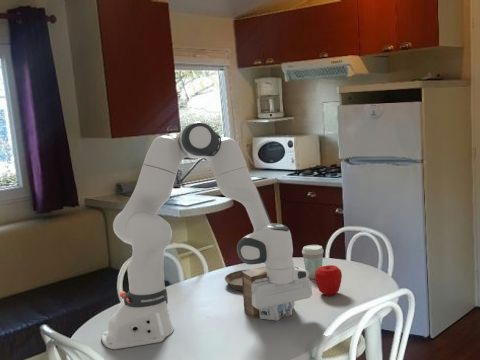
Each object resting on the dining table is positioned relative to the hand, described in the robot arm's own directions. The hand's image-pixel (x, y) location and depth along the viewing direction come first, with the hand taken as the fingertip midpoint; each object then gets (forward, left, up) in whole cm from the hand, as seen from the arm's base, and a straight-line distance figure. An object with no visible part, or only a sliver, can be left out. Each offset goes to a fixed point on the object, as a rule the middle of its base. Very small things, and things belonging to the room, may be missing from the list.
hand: (283, 316), depth 185 cm
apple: (+26, +13, -2) cm, 29 cm away
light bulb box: (0, +7, -2) cm, 7 cm away
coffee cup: (+32, +33, -2) cm, 46 cm away
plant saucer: (+8, +40, -2) cm, 41 cm away
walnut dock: (+1, +12, -2) cm, 12 cm away
